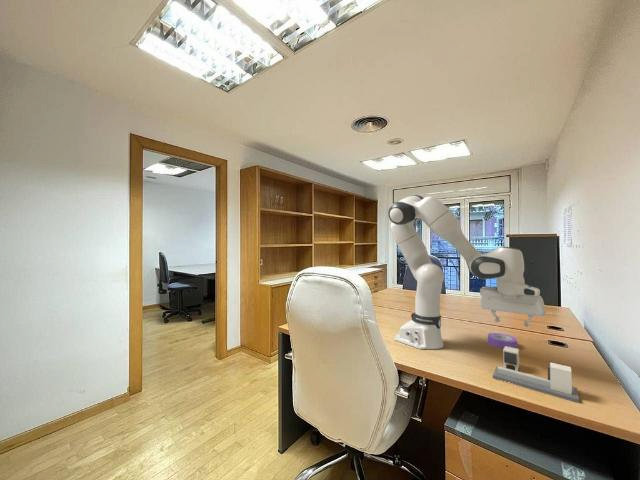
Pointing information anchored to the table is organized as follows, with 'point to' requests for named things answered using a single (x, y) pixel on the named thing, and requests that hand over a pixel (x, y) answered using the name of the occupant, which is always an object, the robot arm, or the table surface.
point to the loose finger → (511, 357)
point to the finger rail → (537, 387)
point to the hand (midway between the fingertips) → (511, 323)
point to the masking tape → (502, 340)
